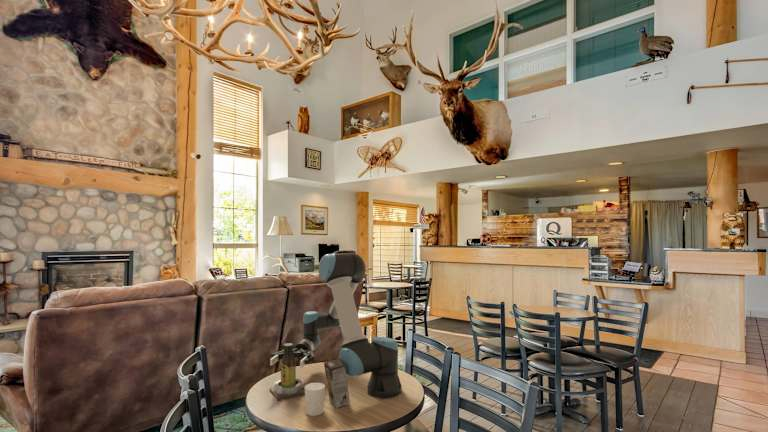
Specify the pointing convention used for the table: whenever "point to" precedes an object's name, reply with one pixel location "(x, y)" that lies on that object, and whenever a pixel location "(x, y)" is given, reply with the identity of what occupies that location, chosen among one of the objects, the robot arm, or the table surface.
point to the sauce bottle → (288, 367)
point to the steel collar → (288, 388)
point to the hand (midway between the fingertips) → (285, 363)
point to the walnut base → (282, 397)
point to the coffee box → (337, 382)
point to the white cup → (314, 398)
